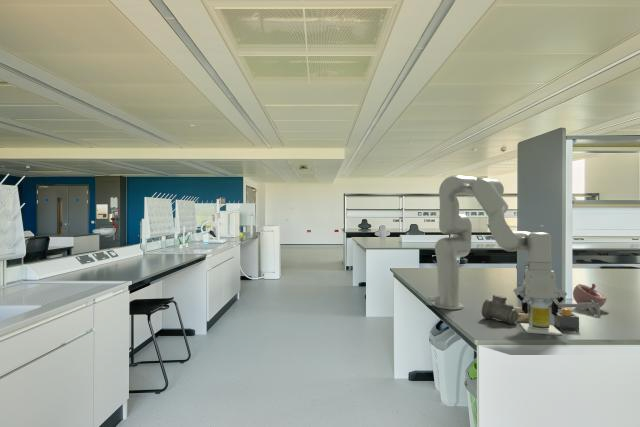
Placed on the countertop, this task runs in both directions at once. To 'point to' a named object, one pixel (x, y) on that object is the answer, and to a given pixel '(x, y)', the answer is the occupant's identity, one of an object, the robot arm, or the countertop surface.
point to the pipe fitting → (499, 310)
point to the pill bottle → (538, 314)
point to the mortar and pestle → (588, 295)
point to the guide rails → (522, 315)
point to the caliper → (583, 306)
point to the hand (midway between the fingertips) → (539, 313)
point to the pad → (551, 330)
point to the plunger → (566, 312)
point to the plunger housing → (567, 322)
